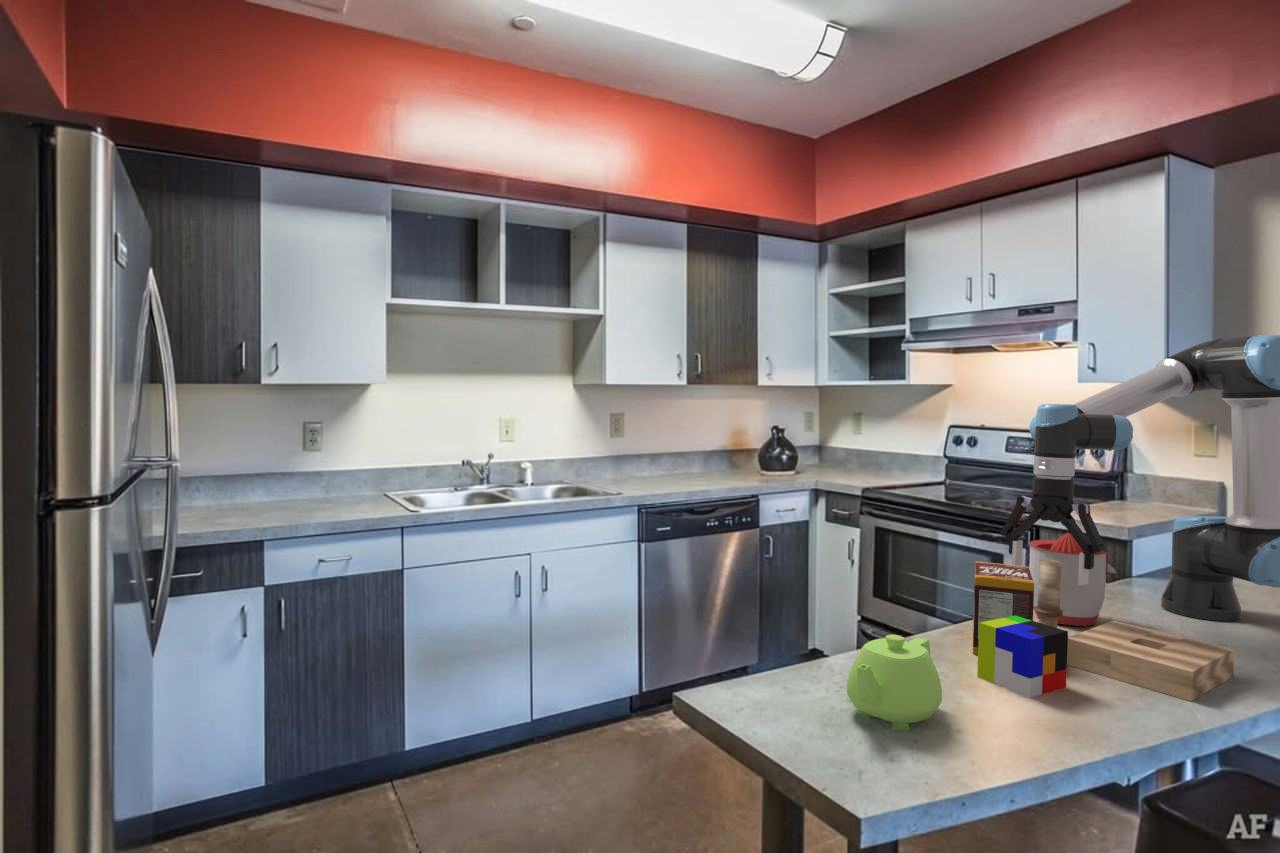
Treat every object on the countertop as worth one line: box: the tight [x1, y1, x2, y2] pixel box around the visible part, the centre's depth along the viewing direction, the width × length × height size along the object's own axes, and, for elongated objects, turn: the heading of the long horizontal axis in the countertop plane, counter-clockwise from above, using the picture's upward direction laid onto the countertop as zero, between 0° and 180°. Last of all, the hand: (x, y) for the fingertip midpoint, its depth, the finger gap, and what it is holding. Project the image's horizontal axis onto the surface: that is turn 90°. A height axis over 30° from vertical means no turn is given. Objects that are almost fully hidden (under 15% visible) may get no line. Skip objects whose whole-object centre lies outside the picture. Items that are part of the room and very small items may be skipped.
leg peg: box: [1034, 559, 1063, 628], centre depth 153 cm, size 5×5×16 cm
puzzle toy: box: [976, 616, 1069, 699], centre depth 128 cm, size 10×10×10 cm
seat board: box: [1067, 620, 1236, 702], centre depth 134 cm, size 20×20×5 cm
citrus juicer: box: [1028, 532, 1117, 628], centre depth 164 cm, size 16×17×20 cm
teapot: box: [846, 634, 943, 733], centre depth 113 cm, size 20×13×13 cm
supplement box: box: [972, 560, 1034, 656], centre depth 146 cm, size 10×15×16 cm
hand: (1048, 577), depth 152 cm, fingers open, 13 cm apart
